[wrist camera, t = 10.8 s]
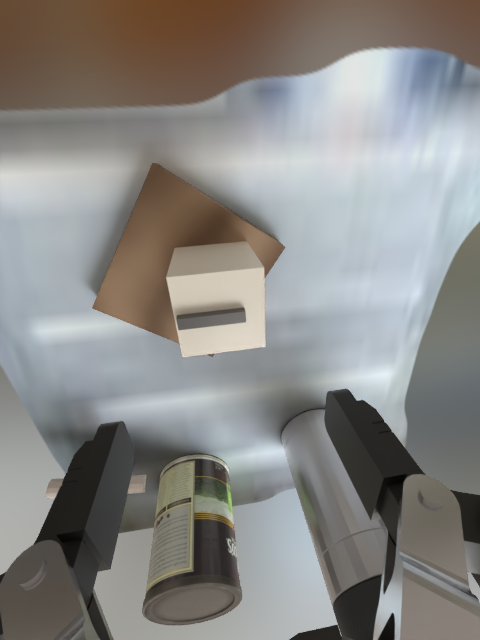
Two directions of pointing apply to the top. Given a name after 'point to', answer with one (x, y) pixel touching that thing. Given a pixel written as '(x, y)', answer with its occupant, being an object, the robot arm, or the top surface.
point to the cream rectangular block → (217, 298)
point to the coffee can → (193, 545)
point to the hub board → (169, 249)
